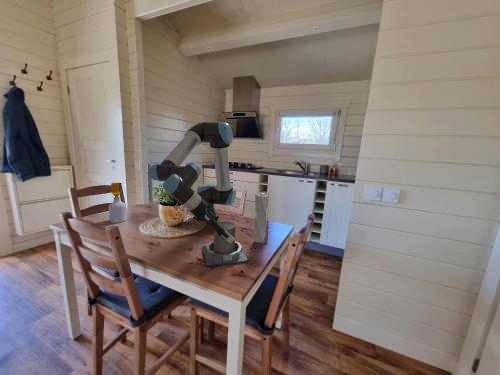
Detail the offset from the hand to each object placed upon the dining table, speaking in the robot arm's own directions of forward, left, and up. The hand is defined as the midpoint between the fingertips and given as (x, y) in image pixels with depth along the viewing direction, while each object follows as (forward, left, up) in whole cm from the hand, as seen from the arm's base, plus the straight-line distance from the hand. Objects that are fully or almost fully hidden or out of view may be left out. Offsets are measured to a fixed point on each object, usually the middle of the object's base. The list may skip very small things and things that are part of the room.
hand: (229, 234), depth 97 cm
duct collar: (0, -2, -10) cm, 10 cm away
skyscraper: (-10, +20, -10) cm, 24 cm away
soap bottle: (-57, -58, -10) cm, 82 cm away
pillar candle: (0, -2, -9) cm, 9 cm away
